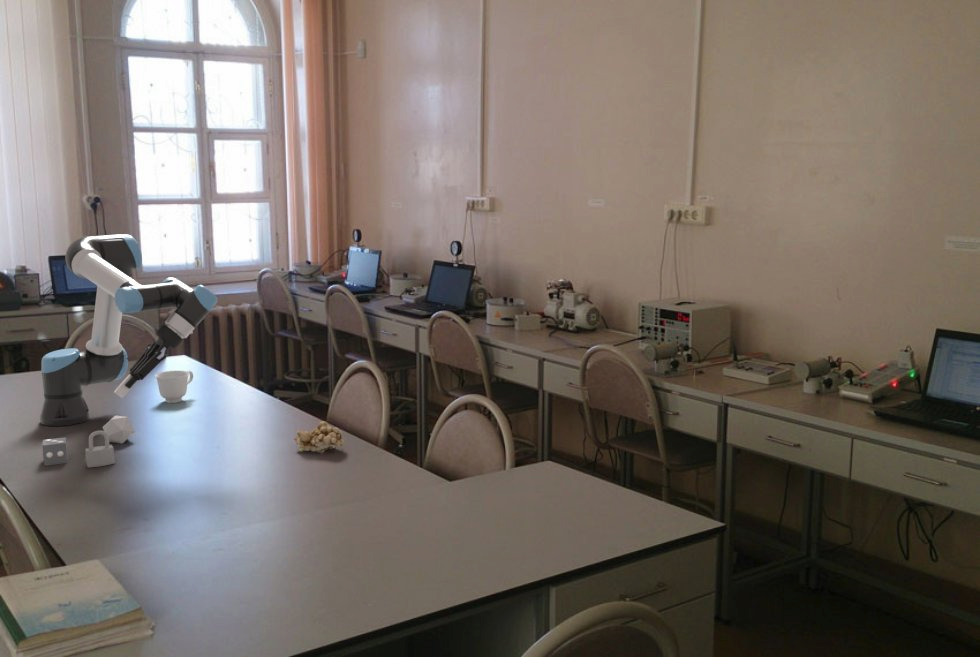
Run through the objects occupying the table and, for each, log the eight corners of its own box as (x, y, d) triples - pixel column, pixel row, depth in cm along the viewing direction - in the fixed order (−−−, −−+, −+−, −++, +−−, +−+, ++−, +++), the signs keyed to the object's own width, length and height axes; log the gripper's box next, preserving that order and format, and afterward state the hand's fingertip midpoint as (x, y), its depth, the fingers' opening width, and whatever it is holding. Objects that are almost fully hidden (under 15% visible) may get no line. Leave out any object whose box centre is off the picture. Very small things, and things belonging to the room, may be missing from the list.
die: (141, 441, 283) (133, 413, 286) (128, 435, 275) (121, 406, 278) (116, 451, 282) (109, 423, 286) (102, 445, 274) (95, 416, 278)
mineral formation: (327, 440, 281) (357, 447, 271) (291, 457, 272) (320, 465, 262) (322, 416, 279) (351, 422, 269) (286, 432, 270) (315, 439, 260)
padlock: (112, 460, 262) (110, 427, 261) (115, 464, 259) (112, 430, 257) (86, 464, 259) (83, 430, 257) (88, 468, 255) (85, 434, 254)
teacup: (204, 398, 334) (203, 371, 332) (171, 406, 322) (169, 379, 320) (182, 393, 341) (181, 367, 339) (149, 402, 328) (147, 375, 326)
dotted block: (44, 459, 263) (42, 439, 262) (67, 457, 266) (65, 436, 265) (44, 466, 258) (42, 445, 257) (67, 463, 260) (65, 442, 259)
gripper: (190, 343, 261) (133, 408, 255) (178, 336, 272) (123, 398, 266) (170, 326, 257) (111, 392, 251) (158, 320, 268) (102, 382, 262)
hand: (117, 395), depth 258 cm, fingers closed
